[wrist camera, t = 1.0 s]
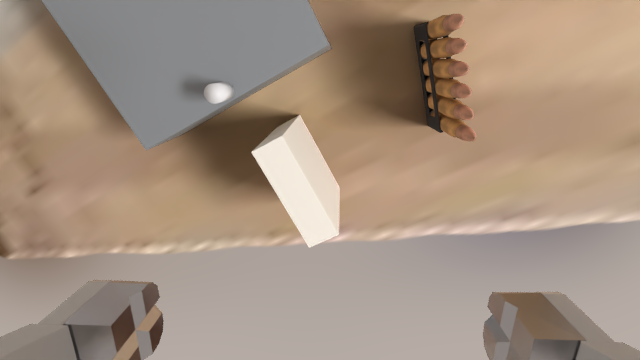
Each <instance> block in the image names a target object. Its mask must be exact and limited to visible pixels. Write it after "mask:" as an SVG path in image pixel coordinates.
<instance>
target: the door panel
mask: <svg viewBox="0 0 640 360" xmlns="http://www.w3.org/2000/svg"><path fill="white" fill-rule="evenodd" d="M251 153H252V154H253V156H254V157H255V159H256V161H257V162H258V164H259V166H260V167H261V169H262V171H263V172H264V174H265V176H266V177H267V179H268V181H269V182H270V184H271V185H272V187H273V189H274V190H275V192H276V194H277V195H278V197H279V199H280V200H281V202H282V204H283V205H284V207H285V209H286V210H287V212H288V213H289V215H290V217H291V218H292V220H293V222H294V223H295V225H296V227H297V228H298V230H299V232H300V233H301V235H302V237H303V238H304V240H305V241H306V243H307V245H308V246H309V247H312V246H314V245H317V244H319V243H321V242H323V241H326V240H328V239H330V238H332V237H334V236H337V235H339V201H340V187H339V186H338V184H337V182H336V180H335V178H334V176H333V175H332V173H331V171H330V169H329V167H328V165H327V164H326V162H325V160H324V158H323V156H322V154H321V153H320V151H319V149H318V147H317V145H316V144H315V142H314V140H313V138H312V136H311V134H310V133H309V131H308V129H307V127H306V125H305V123H304V122H303V120H302V118H301V116H300V115H298V116H296V117H295V118H293V119H291V120H289V121H287V122H285V123H283V124H282V125H280V126H278V127H277V128H276V129H275V130H274V131H273V132H271V133H270V134H269V135H268V136H267V137H266V138H265V139H264V140H263V141H262V142H261V143H260V144H259V145H258V146H257V147H256V148H255V149H254V150H253V151H252V152H251Z"/></svg>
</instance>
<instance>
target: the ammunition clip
mask: <svg viewBox="0 0 640 360" xmlns="http://www.w3.org/2000/svg"><path fill="white" fill-rule="evenodd" d="M463 22H464V16H462V15H460V14H452V15H443V16H441V17H438V18H436V19H434V20H432V21H430V22H427V23H423V24H419V25H416V26H414V33H415V40H416V47H417V53H418V60H419V67H420V74H421V81H422V88H423V95H424V101H425V108H426V115H427V122H428V126H429V127H431V128H433V129H435V130H436V131H438V132H440V133H441V132H443V131H444V132H446V133H447V134H449V135H451V136H453V137H457V138H460V139H462V140H465V141H474V140H476V138H477V137H476V134H475V132H474V131H473V130H472V129H471V128H470V127H468V126H467V125H466V124H465V123H464V122H463V121H462V120H470V119H472V118H473V117H474V112H473V110H472V109H471V108H469V107H468V106H466V105H464V104H463V103H462V102H461V101H459V100H456V98H466V97H469V96H470V95H471V94H472V90H471V88H470V87H469V86H467V85H466V84H463V83H460V82H459V81H458V80H455V79H453V77H458V76H463V75H465V74H467V73H468V72H469V66H468V65H467V64H466V63H464V62H461V61H456V60H454V59H451V56H452V55H454V54H458V53H460V52H462V51H463V50H464V49H465V48H466V47H467V42H466V41H465V40H463V39H460V38H450V37H448V35H449V34H450V33H451V32H452V31H454V30H456V29H458V28H459V27H460V26H461V25H462V24H463ZM441 37H443V38H441ZM437 38H441V39H437ZM440 58H446V59H440ZM460 119H461V120H460ZM442 130H443V131H442Z"/></svg>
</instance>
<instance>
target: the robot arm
mask: <svg viewBox="0 0 640 360" xmlns="http://www.w3.org/2000/svg"><path fill="white" fill-rule="evenodd" d="M159 298H160V296H159V291H158V286H157V285H156V284H154V283H153V282H135V281H111V280H93V281H88V282H87V283H86V284H85V285H83V286H82V287H81V288H80V289H79V290H77V291H76V292H75V293H74V294H73V295H71V296H70V297H69V298H68V299H67V300H65V301H64V302H63V303H62V304H61V305H60V306H58V307H57V308H56V309H55V310H54V311H52V312H51V313H50V314H49V315H48V316H47V317H45V318H44V319H43V320H42V321H41V322H39V323H38V324H29V325H27V326H25V327H22V328H20V329H18V330H16V331H13V332H11V333H8V334H6V335H4V336H1V337H0V360H144V359H145V358H147V357H148V356H150V355H151V354H153V352H154V351H155V349H156V348H157V346H158V344H159V342H160V339H161V335H162V332H163V315H162V312H161V311H160V310H159V309H158V308H157V307H156V306H155V304H156V302H157V301H158V299H159ZM488 308H489V310H490V311H491V313H492V314H493V315H492V316H491V317H490V318H489V319H488V320H487V321H485V324H484V331H483V339H484V347H485V350H486V353H487V356H488V358H489V360H640V351H639V350H637V349H635V348H633V347H631V346H629V345H627V344H625V343H618V342H614V341H613V340H612V339H611V338H610V337H609V336H608V335H607V334H606V333H605V332H604V331H603V330H602V329H601V328H599V327H598V326H597V325H596V324H595V323H594V322H593V321H592V320H591V319H590V318H589V317H588V316H587V315H585V313H584V312H583V311H582V310H580V309H579V308H578V307H577V306H576V305H575V304H574V303H573V302H572V301H571V300H570V299H569V298H568V297H567V296H566V295H564V294H562V293H559V292H536V293H529V292H526V293H525V292H492V294H491V296H490V297H489V302H488Z"/></svg>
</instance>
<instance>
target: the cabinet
mask: <svg viewBox="0 0 640 360" xmlns="http://www.w3.org/2000/svg"><path fill="white" fill-rule="evenodd" d="M42 2H43V3H44V5H45V6H46V8H47V9H48V11H49V12H50V13H51V15H52V16H53V18H54V19H55V21H56V22H57V23H58V25H59V26H60V28H61V29H62V31H63V32H64V33H65V35H66V36H67V38H68V39H69V41H70V42H71V43H72V45H73V46H74V48H75V49H76V51H77V52H78V53H79V55H80V56H81V58H82V59H83V61H84V62H85V64H86V65H87V66H88V68H89V69H90V71H91V72H92V74H93V75H94V76H95V78H96V79H97V81H98V82H99V84H100V85H101V86H102V88H103V89H104V91H105V92H106V94H107V95H108V96H109V98H110V99H111V101H112V102H113V104H114V105H115V107H116V108H117V109H118V111H119V112H120V114H121V115H122V117H123V118H124V119H125V121H126V122H127V124H128V125H129V127H130V128H131V129H132V131H133V132H134V134H135V135H136V137H137V138H138V139H139V141H140V142H141V144H142V145H143V147H144V148H145V150H148V149H151V148H153V147H155V146H157V145H160V144H162V143H164V142H167V141H169V140H171V139H173V138H176V137H178V136H180V135H182V134H184V133H186V132H188V131H189V130H191V129H193V128H195V127H196V126H198V125H200V124H202V123H203V122H205V121H207V120H209V119H210V118H212V117H214V116H216V115H217V114H219V113H221V112H222V111H224V110H226V109H228V108H229V107H231V106H233V105H235V104H236V103H238V102H240V101H242V100H243V99H245V98H247V97H249V96H250V95H252V94H254V93H256V92H257V91H259V90H261V89H262V88H264V87H266V86H268V85H269V84H271V83H273V82H275V81H276V80H278V79H280V78H282V77H283V76H285V75H287V74H289V73H290V72H292V71H294V70H296V69H297V68H299V67H301V66H302V65H304V64H306V63H308V62H309V61H311V60H313V59H315V58H316V57H318V56H320V55H322V54H323V53H325V52H327V51H329V50H330V49H332V48H331V46H330V44H329V42H328V40H327V38H326V36H325V34H324V32H323V30H322V28H321V26H320V23H319V21H318V19H317V17H316V15H315V13H314V11H313V9H312V7H311V5H310V3H309V1H308V0H42Z"/></svg>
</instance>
